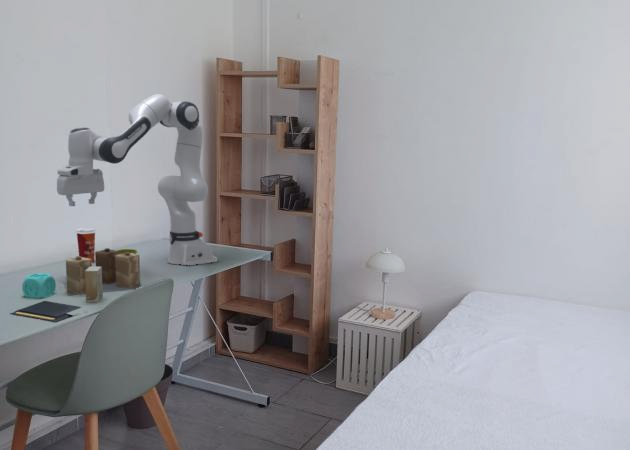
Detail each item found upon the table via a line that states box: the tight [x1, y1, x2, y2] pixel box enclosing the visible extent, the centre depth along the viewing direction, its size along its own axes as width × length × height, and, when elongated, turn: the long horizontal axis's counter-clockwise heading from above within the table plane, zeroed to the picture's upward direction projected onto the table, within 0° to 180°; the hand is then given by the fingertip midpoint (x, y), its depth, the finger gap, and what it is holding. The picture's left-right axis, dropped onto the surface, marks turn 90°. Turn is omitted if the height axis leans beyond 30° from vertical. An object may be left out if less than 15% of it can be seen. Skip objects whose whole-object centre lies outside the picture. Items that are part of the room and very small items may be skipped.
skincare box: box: [85, 266, 104, 303], centre depth 212 cm, size 6×4×12 cm
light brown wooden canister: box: [65, 255, 93, 296], centre depth 221 cm, size 6×6×13 cm
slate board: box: [62, 281, 143, 297], centre depth 231 cm, size 27×20×1 cm
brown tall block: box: [115, 252, 141, 289], centre depth 230 cm, size 6×6×13 cm
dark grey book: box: [9, 300, 82, 323], centre depth 201 cm, size 20×2×15 cm
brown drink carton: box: [94, 247, 119, 284], centre depth 235 cm, size 6×6×13 cm
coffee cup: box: [75, 227, 97, 264], centre depth 269 cm, size 8×8×15 cm
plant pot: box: [115, 248, 138, 254], centre depth 256 cm, size 9×9×9 cm
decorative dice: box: [21, 272, 57, 299], centre depth 216 cm, size 8×8×8 cm
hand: (82, 204), depth 238 cm, fingers open, 8 cm apart
